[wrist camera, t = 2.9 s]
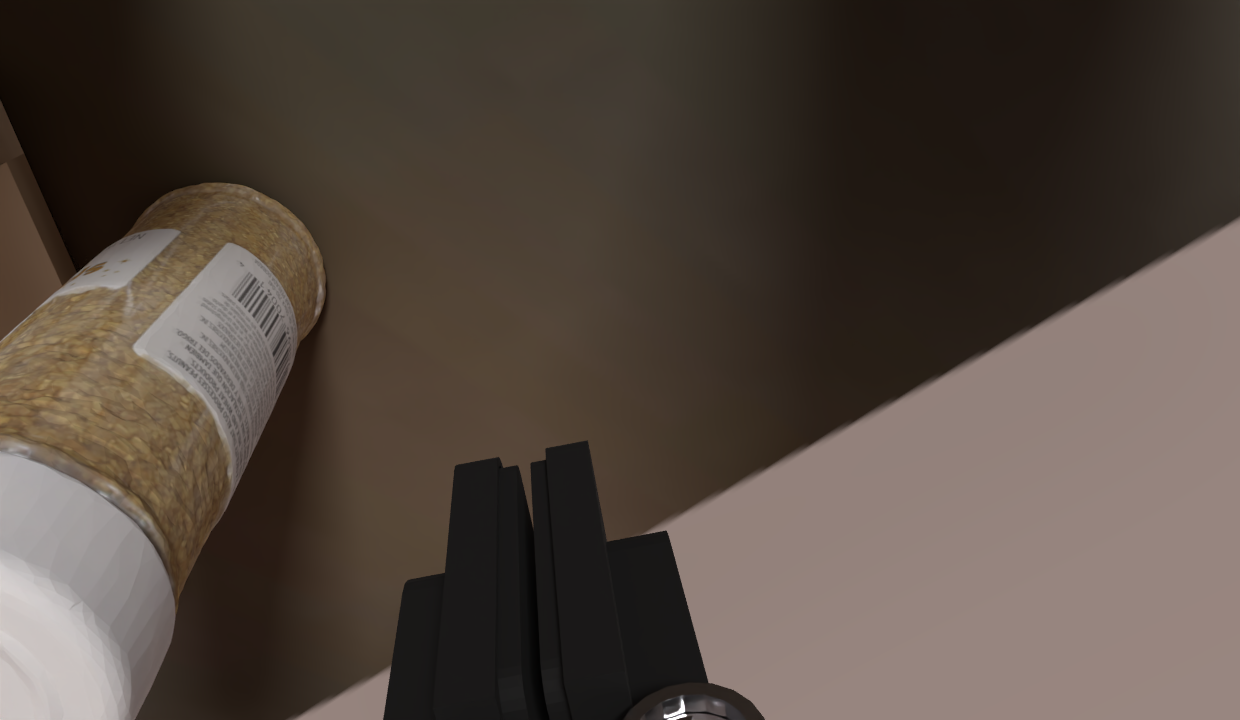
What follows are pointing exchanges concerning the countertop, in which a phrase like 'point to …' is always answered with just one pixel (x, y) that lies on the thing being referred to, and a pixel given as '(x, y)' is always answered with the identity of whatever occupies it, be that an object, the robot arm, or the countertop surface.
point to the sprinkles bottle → (137, 438)
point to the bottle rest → (25, 237)
